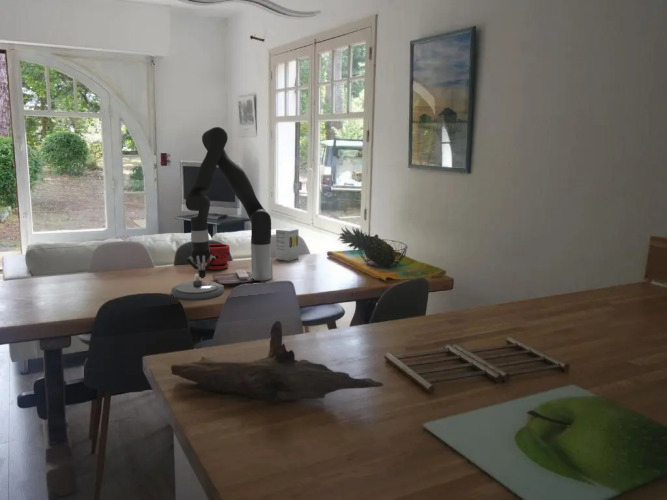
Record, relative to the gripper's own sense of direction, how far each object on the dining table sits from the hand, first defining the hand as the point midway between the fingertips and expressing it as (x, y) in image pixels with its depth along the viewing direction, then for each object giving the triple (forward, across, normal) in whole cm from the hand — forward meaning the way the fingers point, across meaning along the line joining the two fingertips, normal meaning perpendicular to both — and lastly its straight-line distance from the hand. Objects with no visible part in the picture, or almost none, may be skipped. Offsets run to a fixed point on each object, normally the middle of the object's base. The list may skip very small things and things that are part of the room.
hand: (202, 277), depth 256 cm
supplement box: (+7, -41, -59) cm, 72 cm away
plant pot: (+6, -4, -40) cm, 40 cm away
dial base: (+4, +2, +9) cm, 10 cm away
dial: (+2, +2, +8) cm, 8 cm away
